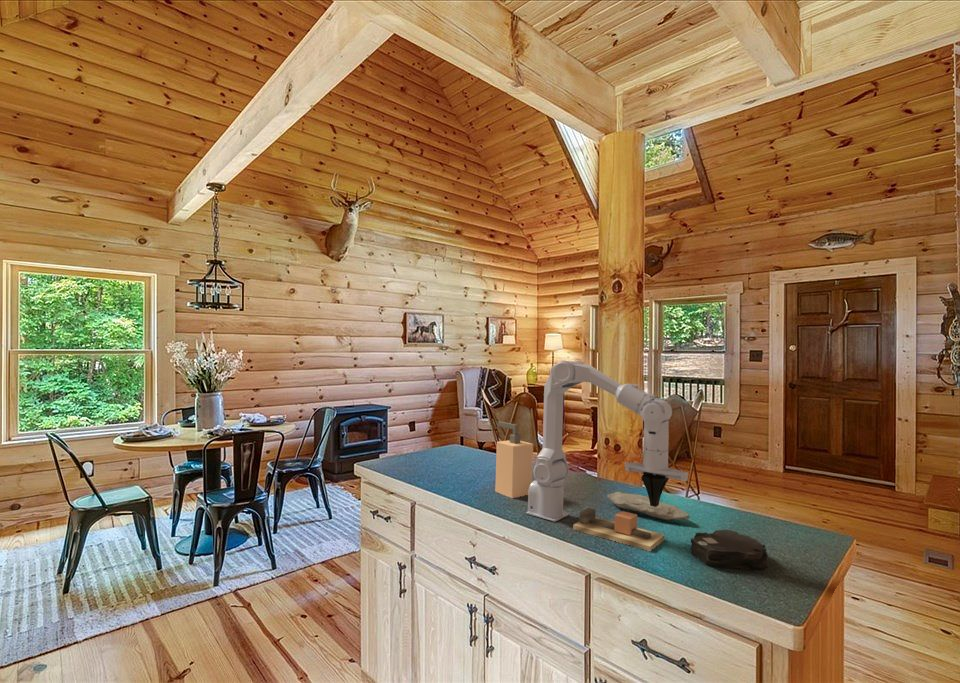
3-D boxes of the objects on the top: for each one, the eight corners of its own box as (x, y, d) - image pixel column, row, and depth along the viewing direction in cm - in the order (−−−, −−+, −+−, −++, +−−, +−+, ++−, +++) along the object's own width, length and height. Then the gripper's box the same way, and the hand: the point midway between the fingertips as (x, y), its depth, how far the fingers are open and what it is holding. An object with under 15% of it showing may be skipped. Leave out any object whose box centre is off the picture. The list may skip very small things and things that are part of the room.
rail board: (573, 529, 124) (573, 513, 124) (590, 519, 132) (591, 505, 132) (650, 551, 111) (650, 534, 111) (664, 539, 119) (664, 523, 119)
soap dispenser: (532, 494, 154) (534, 425, 154) (512, 498, 149) (514, 427, 149) (506, 484, 164) (508, 420, 165) (487, 488, 159) (489, 422, 160)
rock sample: (707, 540, 120) (707, 520, 120) (779, 560, 109) (779, 538, 110) (680, 560, 108) (680, 538, 108) (758, 585, 97) (758, 560, 97)
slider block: (614, 530, 120) (614, 515, 120) (621, 526, 123) (622, 510, 123) (629, 535, 117) (630, 519, 117) (636, 530, 121) (637, 514, 121)
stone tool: (619, 484, 152) (698, 503, 133) (619, 500, 152) (698, 522, 133) (598, 490, 144) (679, 511, 126) (598, 507, 144) (678, 531, 125)
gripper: (691, 451, 115) (690, 508, 114) (633, 442, 124) (631, 495, 124) (682, 455, 109) (681, 515, 109) (622, 446, 118) (620, 501, 118)
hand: (654, 505), depth 116 cm, fingers closed
